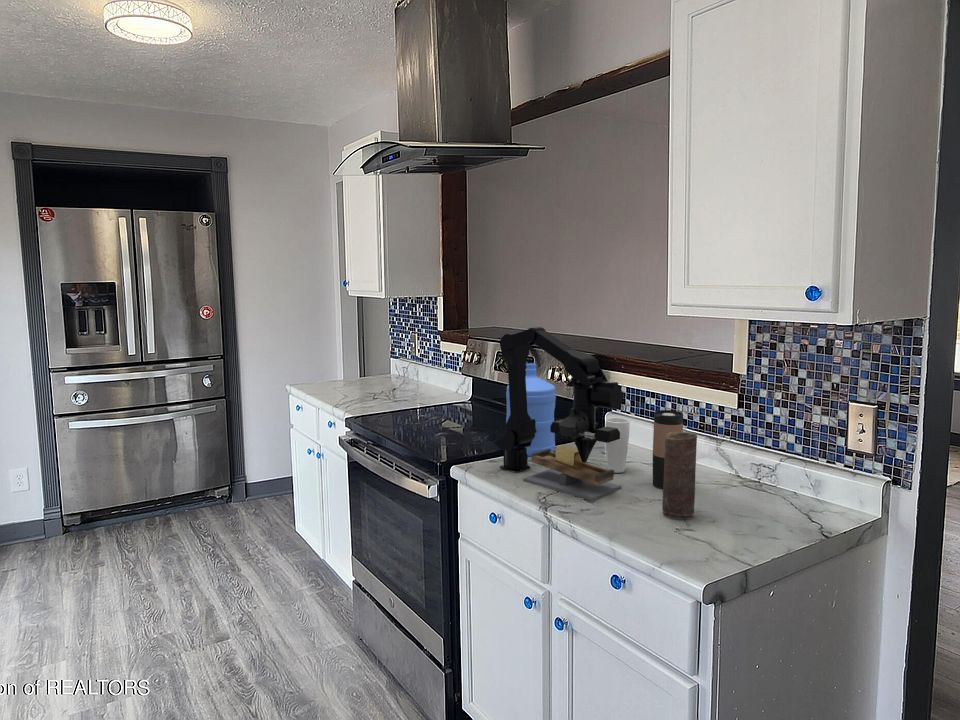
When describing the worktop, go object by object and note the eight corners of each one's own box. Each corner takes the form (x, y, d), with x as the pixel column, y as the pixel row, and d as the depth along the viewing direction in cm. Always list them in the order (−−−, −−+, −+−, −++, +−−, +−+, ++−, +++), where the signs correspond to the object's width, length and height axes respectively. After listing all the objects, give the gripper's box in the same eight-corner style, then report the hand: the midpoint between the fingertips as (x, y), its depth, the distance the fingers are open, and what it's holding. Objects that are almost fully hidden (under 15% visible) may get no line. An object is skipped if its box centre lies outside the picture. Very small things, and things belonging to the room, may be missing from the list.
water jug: (537, 460, 212) (537, 369, 208) (496, 451, 221) (496, 364, 217) (564, 449, 224) (565, 363, 220) (524, 441, 233) (524, 359, 229)
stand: (523, 481, 192) (523, 468, 191) (552, 470, 201) (552, 458, 200) (592, 500, 176) (593, 487, 175) (620, 488, 185) (621, 475, 185)
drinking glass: (628, 475, 197) (629, 423, 195) (604, 473, 198) (605, 422, 196) (628, 468, 203) (629, 417, 201) (604, 466, 205) (605, 417, 202)
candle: (688, 523, 161) (692, 438, 158) (657, 517, 165) (660, 434, 162) (697, 513, 167) (701, 431, 164) (667, 507, 171) (670, 428, 168)
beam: (531, 462, 193) (532, 453, 192) (547, 456, 198) (548, 448, 197) (597, 485, 178) (598, 476, 177) (613, 479, 183) (614, 470, 183)
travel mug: (683, 483, 189) (685, 411, 187) (678, 491, 183) (681, 417, 180) (654, 479, 193) (656, 408, 190) (648, 487, 186) (651, 414, 183)
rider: (554, 464, 189) (556, 447, 188) (564, 461, 192) (566, 443, 191) (572, 470, 185) (574, 452, 184) (582, 467, 188) (584, 449, 187)
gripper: (537, 404, 183) (537, 462, 185) (596, 413, 170) (596, 475, 172) (562, 398, 191) (563, 453, 193) (621, 406, 178) (620, 466, 180)
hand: (584, 462), depth 185 cm, fingers closed
